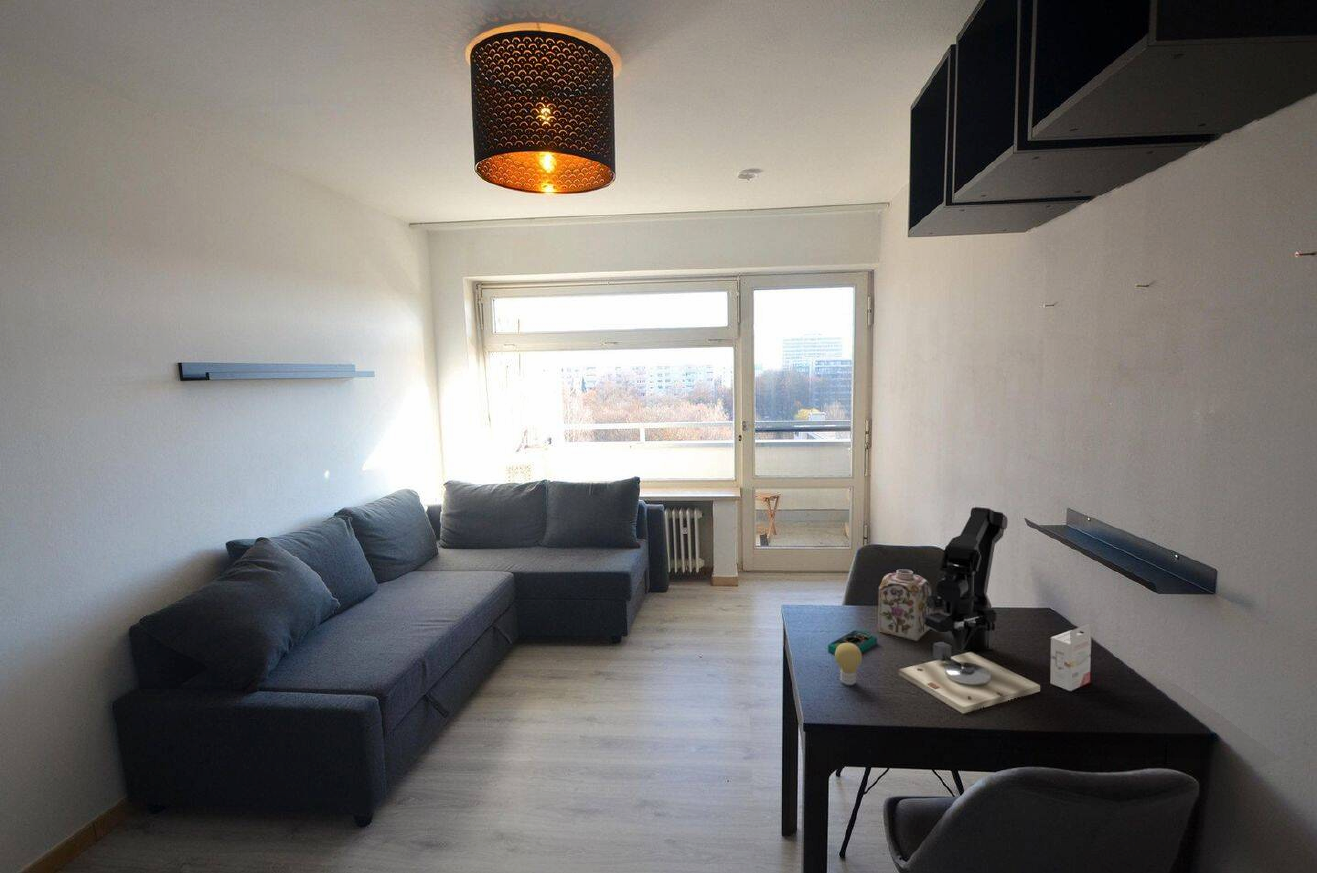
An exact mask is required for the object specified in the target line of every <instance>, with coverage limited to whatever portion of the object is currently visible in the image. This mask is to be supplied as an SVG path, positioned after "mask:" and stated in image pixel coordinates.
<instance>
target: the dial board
mask: <svg viewBox="0 0 1317 873" xmlns="http://www.w3.org/2000/svg"><path fill="white" fill-rule="evenodd" d="M951 659H953V660H955V661H957V662H967V663H972V664H976V665H979V666H981V667H983V668H985V669H987V670H988V671H989V672H990V674H991V678H990V682H989V683H988V684H986V685H982V686H970V685H964V684H960V683H957V682H955V681H953V680H951V679H949V678H948V677H947V676H946V674H945V666H946V665H947V664H949V663H947V662H945V661H940V660H938V659H936V660H932V661H931V660H930V661H928V662H924V663H920V664H915V665H912V666H908V667H904V668H900V669H898V675H899V677H901V678H903V679H905V680H906V681H908V682H910V683H911V684H913V685H915V686H917V687H918V688H920V689H921V690H923V691H925V692H926V693H928V694H930V695H931V696H933V697H934V698H936V699H938V700H940V701H942V702H943V703H944V704H946V705H947V706H949V707H951V708H953V709H955V710H956V711H958V712H960V713H961V714H962V715H963V714H966V713H970V712H974V711H977V710H980V708H981V709H984V708H987V707H990V706H994V705H998V704H1001V703H1005V702H1008V700H1009V701H1011V699H1012V700H1015V699H1014V698H1016V699H1018V698H1017V697H1019V698H1022V697H1026V696H1030V695H1033V694H1035V693H1038V692H1041V684H1039V683H1036V682H1035V681H1032V680H1030V679H1028V678H1025V677H1024V676H1021V675H1020V674H1018V673H1015V672H1013V671H1011V670H1009V669H1007V668H1006V667H1004V666H1001V665H999V664H997V663H996V662H993V661H991V660H989V659H987V658H984V657H982V656H980V655H979V654H977V653H974V652H972V651H969V652H965V653H961V654H957V655H953V656H952V655H951ZM1021 696H1022V697H1021ZM983 707H984V708H983ZM973 710H974V711H973Z"/></svg>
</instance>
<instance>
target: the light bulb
mask: <svg viewBox="0 0 1317 873" xmlns="http://www.w3.org/2000/svg"><path fill="white" fill-rule="evenodd" d="M834 658H835V659H834V660H835V661H836V663H837V665H838V666H839V667H840V674H839V675H840V682H841V683H843V684H844V685H846V686H853V685H855V684H856V683H857V669H858V668H859V667H860V665H861V663H862V660H863V655H862V653H861V651H860V650H859V648H858V647H857V646H856V645H854V644H852V643H842V644H840V645H839V646H838V647H837V648H836V651H835V654H834Z"/></svg>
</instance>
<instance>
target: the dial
mask: <svg viewBox="0 0 1317 873" xmlns="http://www.w3.org/2000/svg"><path fill="white" fill-rule="evenodd" d="M932 657H933V658H935V659H936V660H940V661H945V662H947V663H949V664H947V665H946V666H945V674H946V676H947V677H948V678H949V679H951V680H953V681H955V682H957V683H960V684H964V685H970V686H982V685H986V684H988V683H989V682H990V678H991V674H990V672H989V671H988V670H987V669H985V668H983V667H981V666H979V665H976V664H972V663H967V662H957V661H955V660H953V659H951V657H952V645H950V644H949V643H946V642H944V641H938V642H934V643H933V644H932Z"/></svg>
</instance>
